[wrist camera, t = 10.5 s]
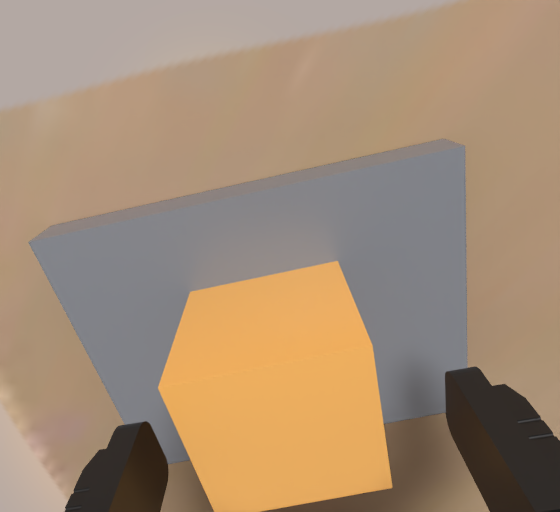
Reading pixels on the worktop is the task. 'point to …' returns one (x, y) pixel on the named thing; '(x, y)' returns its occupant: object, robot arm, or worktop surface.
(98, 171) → the worktop surface
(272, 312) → the orange rounded cube
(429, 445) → the worktop surface
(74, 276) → the plate
